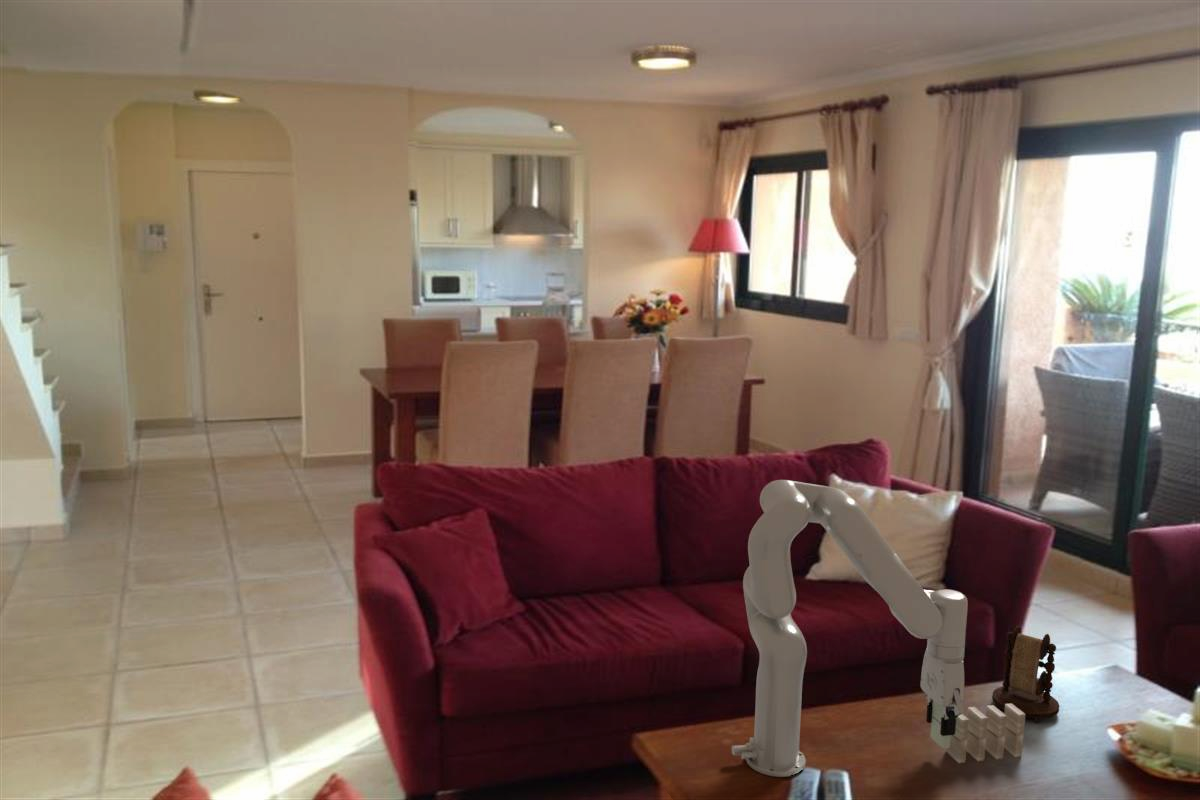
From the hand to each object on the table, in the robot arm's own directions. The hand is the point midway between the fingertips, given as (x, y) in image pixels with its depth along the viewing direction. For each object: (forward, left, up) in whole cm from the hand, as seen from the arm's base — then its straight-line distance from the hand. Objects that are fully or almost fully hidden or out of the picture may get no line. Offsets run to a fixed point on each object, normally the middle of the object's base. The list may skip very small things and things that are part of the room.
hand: (940, 727), depth 213 cm
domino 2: (+4, 0, -7) cm, 8 cm away
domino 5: (+18, 0, -7) cm, 19 cm away
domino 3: (+9, 0, -7) cm, 11 cm away
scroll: (+33, +17, -8) cm, 38 cm away
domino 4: (+13, 0, -7) cm, 15 cm away
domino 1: (0, 0, -3) cm, 3 cm away
